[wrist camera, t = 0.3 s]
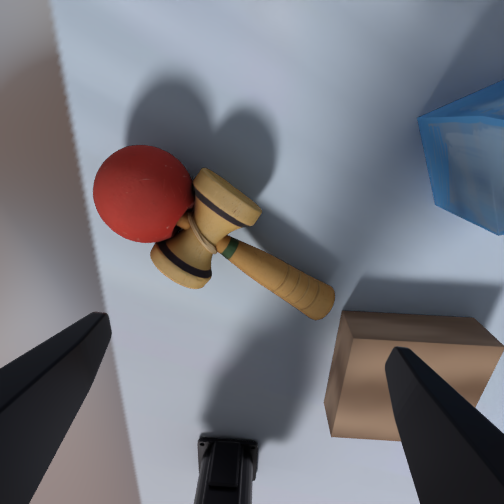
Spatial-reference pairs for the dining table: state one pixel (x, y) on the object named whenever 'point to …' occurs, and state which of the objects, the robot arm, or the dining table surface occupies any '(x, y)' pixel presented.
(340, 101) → the dining table surface
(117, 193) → the kendama
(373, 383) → the walnut plinth
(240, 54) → the dining table surface
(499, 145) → the perfume bottle
